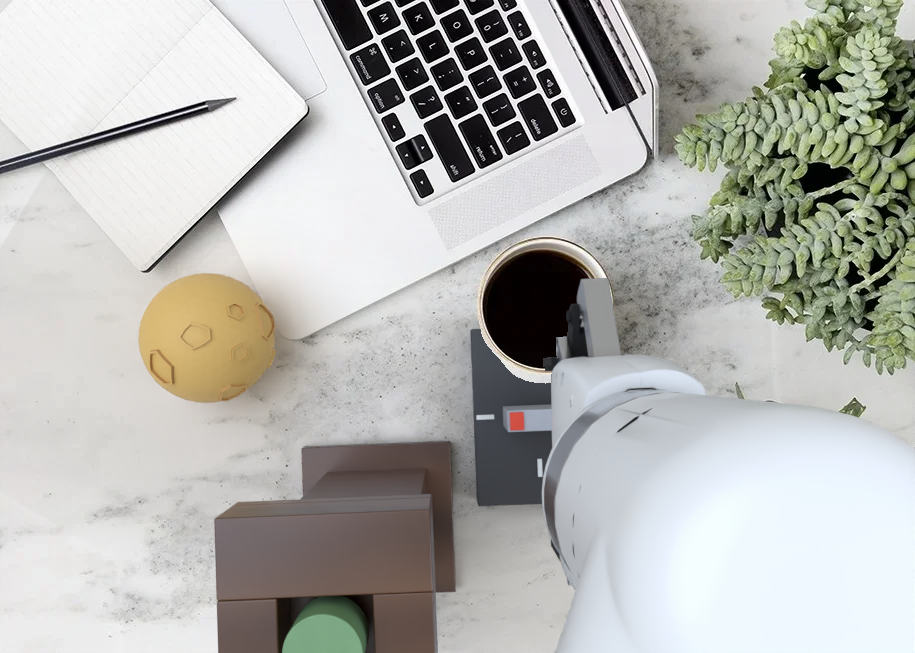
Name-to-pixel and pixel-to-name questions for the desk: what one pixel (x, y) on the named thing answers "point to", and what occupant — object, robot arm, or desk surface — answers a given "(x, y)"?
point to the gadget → (505, 432)
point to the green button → (328, 628)
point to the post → (390, 484)
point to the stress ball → (207, 338)
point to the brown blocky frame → (326, 569)
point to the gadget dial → (527, 418)
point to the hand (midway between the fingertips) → (574, 449)
